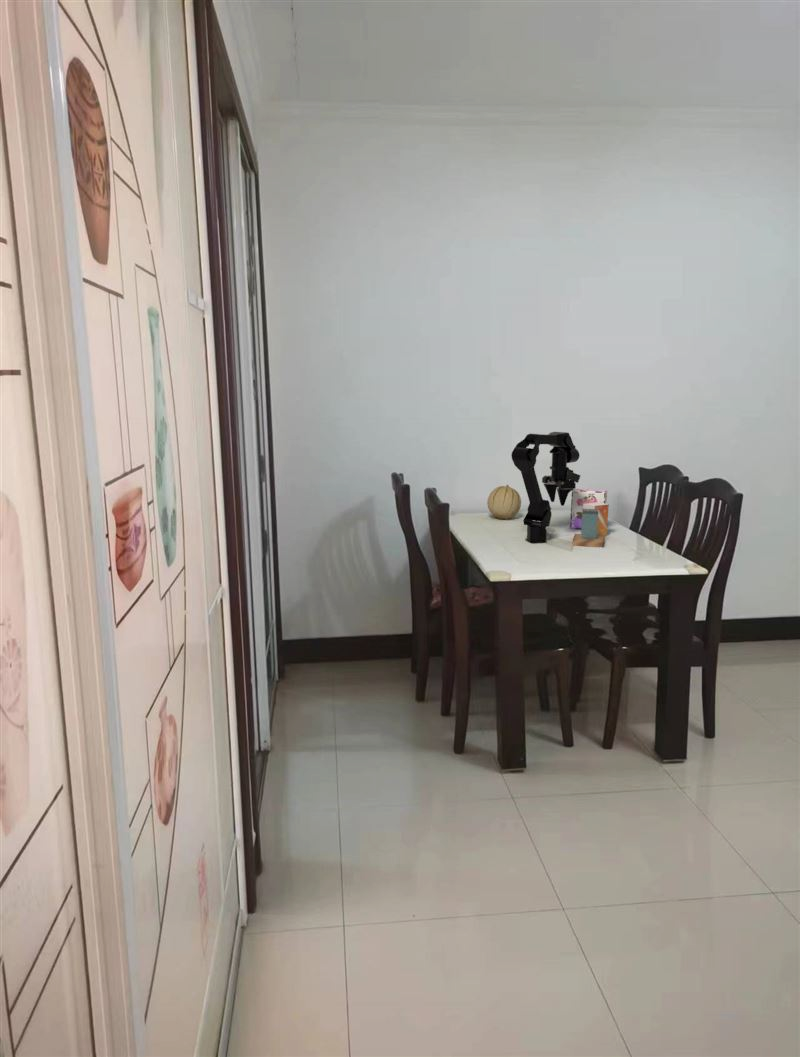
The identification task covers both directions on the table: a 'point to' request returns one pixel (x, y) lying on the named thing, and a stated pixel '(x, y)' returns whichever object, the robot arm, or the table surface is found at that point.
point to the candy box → (582, 498)
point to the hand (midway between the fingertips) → (557, 503)
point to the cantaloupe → (504, 502)
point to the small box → (600, 516)
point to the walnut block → (588, 541)
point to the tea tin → (589, 523)
